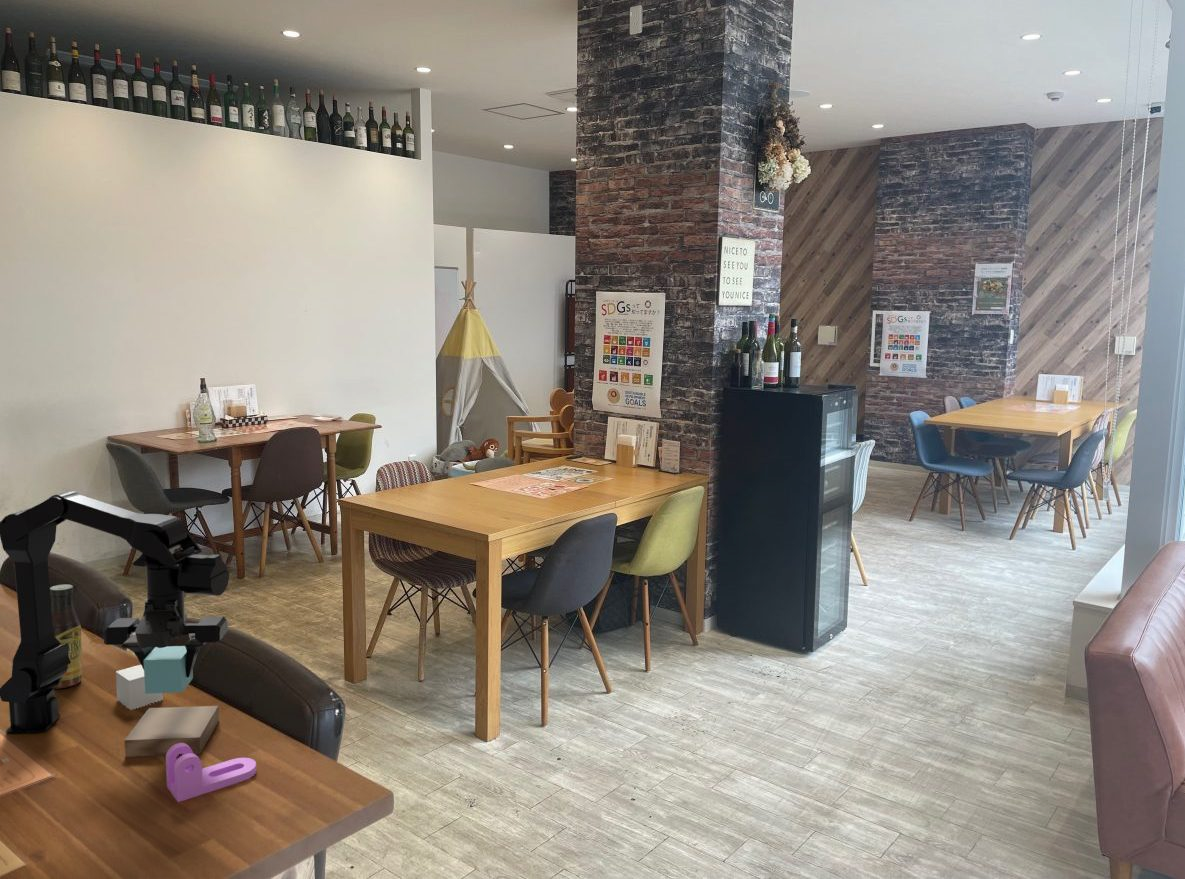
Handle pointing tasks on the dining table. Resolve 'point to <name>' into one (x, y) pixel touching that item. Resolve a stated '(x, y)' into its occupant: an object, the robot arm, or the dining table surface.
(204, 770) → the bracket
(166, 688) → the teal cube
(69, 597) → the sauce bottle
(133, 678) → the white cube
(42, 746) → the dining table surface
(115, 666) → the dining table surface
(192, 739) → the walnut stand
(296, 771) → the dining table surface
